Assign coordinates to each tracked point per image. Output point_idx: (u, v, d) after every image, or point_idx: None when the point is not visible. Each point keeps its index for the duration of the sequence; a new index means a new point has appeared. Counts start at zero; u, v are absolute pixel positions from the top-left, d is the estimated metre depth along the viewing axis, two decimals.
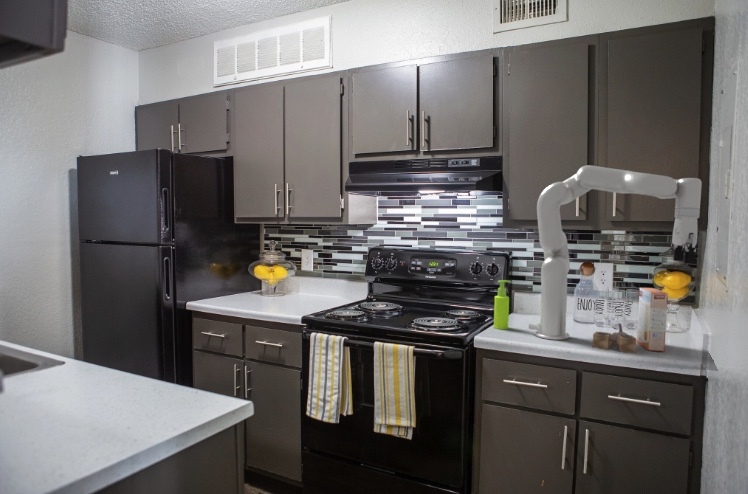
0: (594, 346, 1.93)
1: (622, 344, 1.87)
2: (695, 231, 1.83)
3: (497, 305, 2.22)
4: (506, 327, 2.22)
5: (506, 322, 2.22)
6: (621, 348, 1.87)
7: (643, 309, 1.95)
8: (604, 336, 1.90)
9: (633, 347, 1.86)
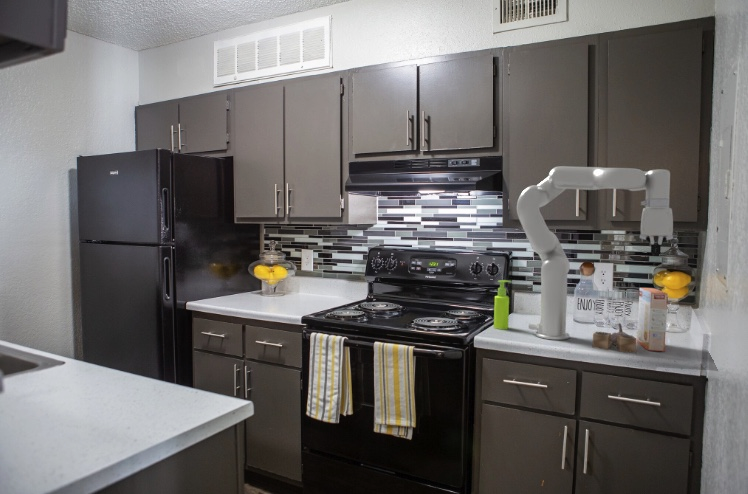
0: (594, 346, 1.93)
1: (622, 344, 1.87)
2: None
3: (497, 305, 2.22)
4: (506, 327, 2.22)
5: (506, 322, 2.22)
6: (621, 348, 1.87)
7: (643, 309, 1.95)
8: (604, 336, 1.90)
9: (633, 347, 1.86)
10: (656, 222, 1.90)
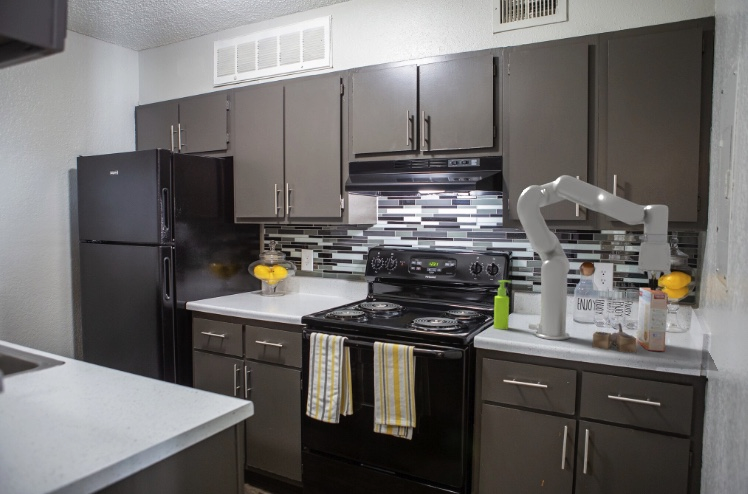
0: (594, 346, 1.92)
1: (622, 344, 1.87)
2: None
3: (497, 305, 2.22)
4: (506, 327, 2.22)
5: (506, 322, 2.22)
6: (621, 348, 1.87)
7: (643, 309, 1.95)
8: (604, 336, 1.90)
9: (633, 347, 1.86)
10: (654, 257, 1.90)
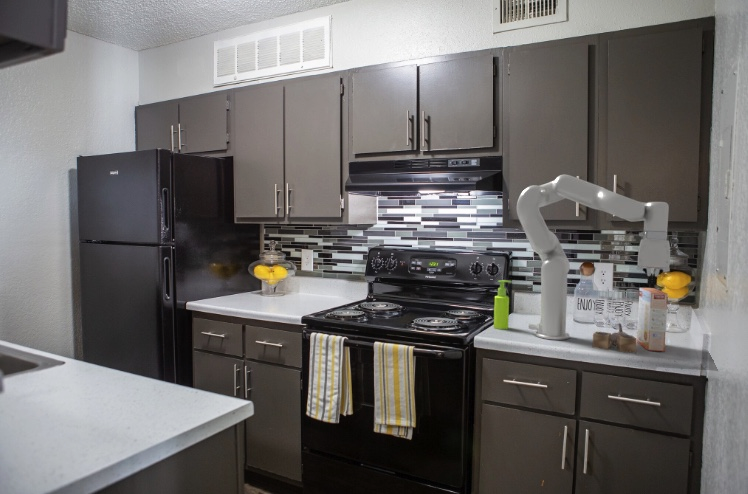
0: (594, 346, 1.92)
1: (622, 344, 1.87)
2: None
3: (497, 305, 2.22)
4: (506, 327, 2.22)
5: (506, 322, 2.22)
6: (621, 348, 1.87)
7: (643, 309, 1.95)
8: (604, 336, 1.90)
9: (633, 347, 1.86)
10: (653, 254, 1.90)
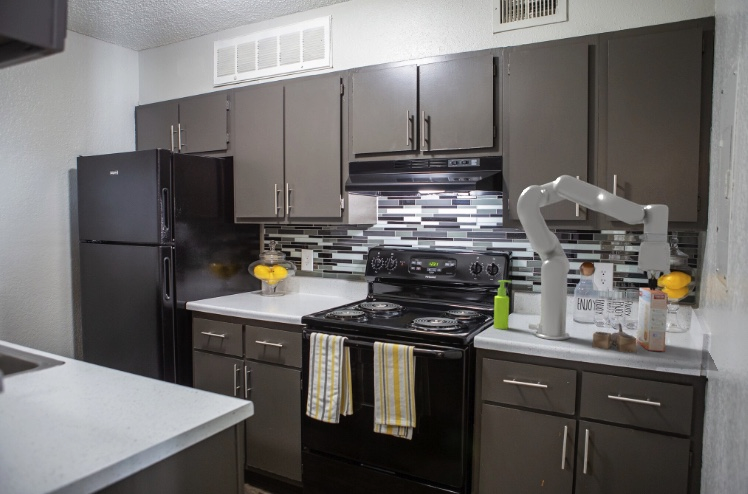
0: (594, 346, 1.92)
1: (622, 344, 1.87)
2: None
3: (497, 305, 2.22)
4: (506, 327, 2.22)
5: (506, 322, 2.22)
6: (621, 348, 1.87)
7: (643, 309, 1.95)
8: (604, 336, 1.90)
9: (633, 347, 1.86)
10: (654, 257, 1.90)
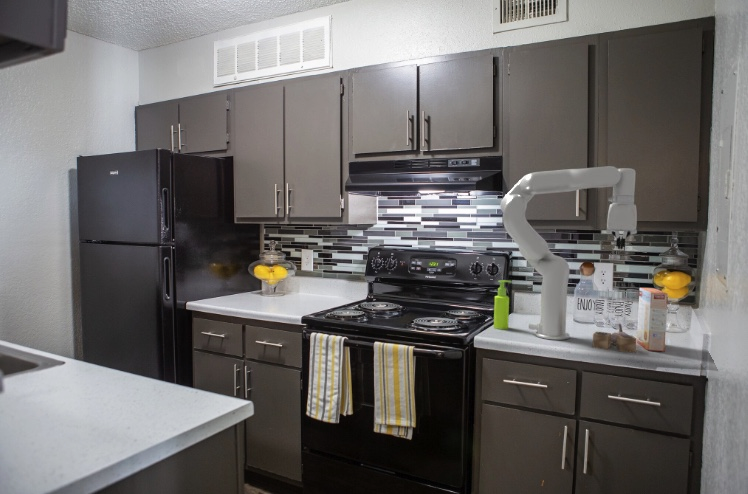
0: (594, 346, 1.92)
1: (622, 344, 1.87)
2: None
3: (497, 305, 2.22)
4: (506, 327, 2.22)
5: (506, 322, 2.22)
6: (621, 348, 1.87)
7: (643, 309, 1.95)
8: (604, 336, 1.90)
9: (633, 347, 1.86)
10: (621, 217, 2.03)
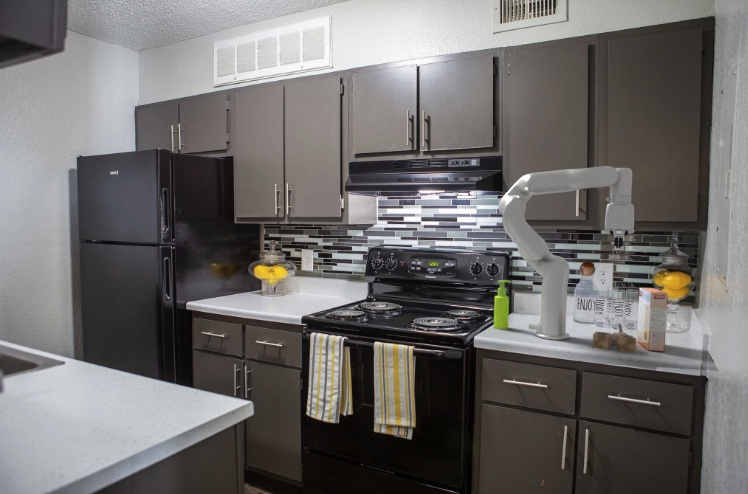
0: (594, 346, 1.92)
1: (622, 344, 1.87)
2: None
3: (497, 305, 2.22)
4: (506, 327, 2.22)
5: (506, 322, 2.22)
6: (621, 348, 1.87)
7: (643, 309, 1.95)
8: (604, 336, 1.90)
9: (633, 347, 1.86)
10: (619, 217, 2.04)
